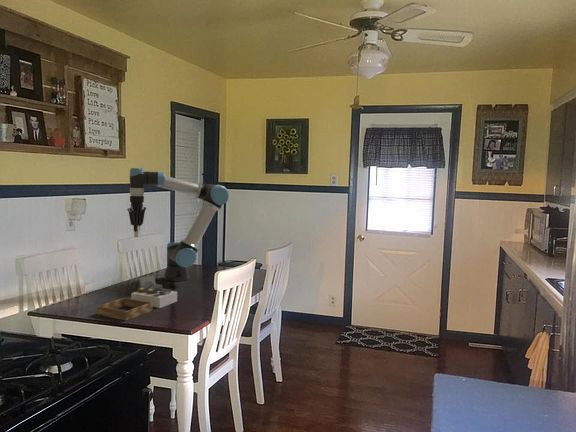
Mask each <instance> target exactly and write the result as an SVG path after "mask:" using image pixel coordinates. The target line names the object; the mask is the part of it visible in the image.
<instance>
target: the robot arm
mask: <svg viewBox="0 0 576 432" xmlns="http://www.w3.org/2000/svg"><path fill="white" fill-rule="evenodd" d="M145 186H154V187H159V188H163V189H165V190H166V189H167V190H170V191H174V192H179V193H182V194H187V195H190V196H193V197H194V198H195V199H199V200H202V203H203V205H202V207H201V208H200V211H199V212H198V214H197V216H196V218H195V219H194V221H193V223H192V225H191V227H190V229H189V231H188V233H187V235H186V236H185V238H184V239H182V240H180V241H178V242H177V241H175V242H168V243H167V244H166V269H165V271H164V275H163V280H165V281H168V282H184V281H187V280H189V278H190V276H189V275H190V274H189V272H188V267H191V266H193V265H194V264H195V263H196V262H197V261H196V260H197V253H198V251H199V245H200V242H201V241H202V238H203V236H204V235H205V233H206V231H207V229H208V228H209V225H210V223H211V222H212V220H213V217H214V216H215V215H216V212H217V211H220V210H221V208H222V206H223V205H225V204H226V203H227V202H229V201H228V200H229V197H230V194H229V190H228V189H227V188H226V186H223V185H221V184H212V183H211V184H208V183H207V184H206V183H201V182H198V183H195V182H191V181H186V180H182V179H179V178H175V177H172V176H168V175H166V174H165V172H162V171H147V170H146V171H145V169H144V168H143V167H131V168H130V169H129V194H130V196H129V202H130V207H129V208H127V212H128V215H129V221H130V225H132V226H133V232H134V233H133V236H134V238H140V237H141V235H140V234H141V226H142V225H143V224H144V220H145V212H146V210H147V207H145V206H144V203H145V197H144V195H145V188H144V187H145Z"/></svg>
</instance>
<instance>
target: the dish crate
mask: <svg viewBox="0 0 576 432" xmlns="http://www.w3.org/2000/svg"><path fill="white" fill-rule="evenodd" d="M123 307H124V308H125V307H128V308H131V309H129V310H124V309H120V308H123ZM117 308H118V309H117ZM153 308H154V307H153V302H147V301H141V300H135V299H131V298H128V297H122V298H119V299H115V300H113V301H110V302H107V303H103V304H101V305H97V306H96V313H97V314H98V315H97V314H96V315H97V316H101V315H102V316H101V317H105V318H106V317H108V318H113V319H118V320H123V321H130V320H131V319H134V318H137V317H140V316H141V315H146V314H148V313H150V312H152V311H153V310H154V309H153Z"/></svg>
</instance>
